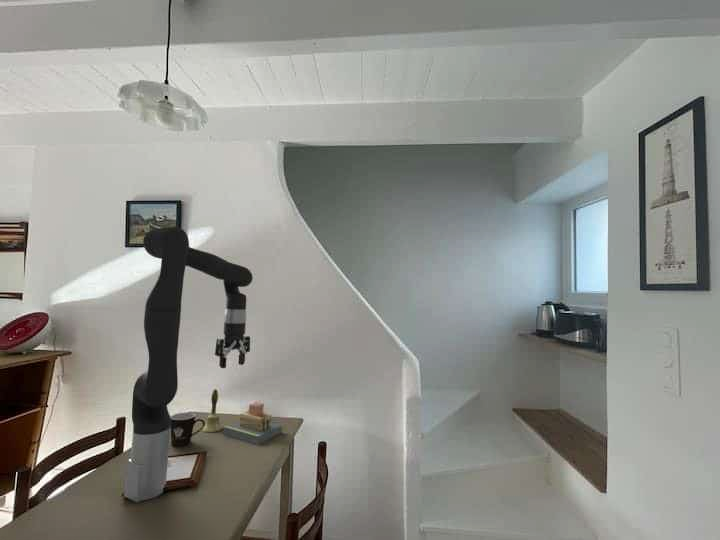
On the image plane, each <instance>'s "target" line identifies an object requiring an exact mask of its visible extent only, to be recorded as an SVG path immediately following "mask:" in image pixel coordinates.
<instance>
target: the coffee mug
mask: <svg viewBox="0 0 720 540" xmlns="http://www.w3.org/2000/svg"><path fill="white" fill-rule="evenodd" d="M170 417H171V425H170V441H171V442H170V444H171V447H173V448H182V447H187V446H188V445H190V444H191V441H192V437H193V436H194V435H197V434H198V433H199V432H202V429H203V427H204V426H205V424H206V421H205V420H204V419H200V418H199V419H196V413H195V412H188V411H187V412H185V411H184V412H178V413H174V414H172V415H170ZM197 422H201V423H202V426H201V428H200V429H198V430H196V431H195V432H193V430H194V426H195V424H196V423H197Z"/></svg>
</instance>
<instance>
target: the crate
mask: <svg viewBox="0 0 720 540" xmlns="http://www.w3.org/2000/svg"><path fill="white" fill-rule="evenodd" d="M264 406H265V405H264V403H263V402H257V401H256V402H255V401H254V402H252V403H250V404H249V406H248V411H249V415H252V416H259V415H261V414H263V413H264Z"/></svg>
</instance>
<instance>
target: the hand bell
mask: <svg viewBox="0 0 720 540" xmlns="http://www.w3.org/2000/svg"><path fill="white" fill-rule="evenodd" d="M210 398H211V399H210V400H211V411H210V414H209V415H208V416H207V418H206V421H205V426H204V427H203V426H202V427H203V429H202V430H201V432H204V433H215V432H216V431H217V432H219V430H220V431H222V430H223V429H224V426H223V425H222V424H221V422H220V416H219V414H218V413H217V412H216V411H217V403H218V401H219V394H218V389H213V391H212V394H211V397H210ZM222 428H223V429H222ZM221 429H222V430H221Z"/></svg>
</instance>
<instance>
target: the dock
mask: <svg viewBox="0 0 720 540" xmlns="http://www.w3.org/2000/svg"><path fill="white" fill-rule="evenodd" d="M279 433H281V434H282V433H283V425H281V424H277V423H273V422H271V427H270V428H267V429H266V430H263V431H261V432H258V431H254V430H251V429H247V428H244V427H240V420H239V421H236V422H234V423H231V424H229V425H225V426H223V436H225V437H230V438H233V439H236V440H239V441H244V442H246V443H250V444H253V445H256V446H258V445H260V444H262V443H264V442H266V441H268V440H270V438H271V439H273V438H274V436H275V437H277V436H279V435H280V434H279ZM278 434H279V435H278ZM276 435H277V436H276ZM272 437H273V438H272Z"/></svg>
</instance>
